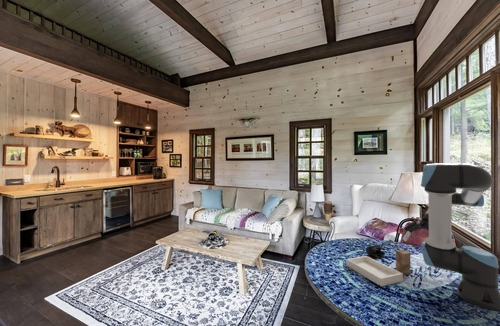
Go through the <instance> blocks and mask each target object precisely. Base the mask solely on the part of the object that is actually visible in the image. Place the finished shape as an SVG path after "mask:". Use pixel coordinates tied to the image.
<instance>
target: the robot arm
mask: <svg viewBox="0 0 500 326" xmlns="http://www.w3.org/2000/svg"><path fill="white" fill-rule="evenodd" d="M422 170H423V171H422V176H421V182H420V186H421V187H422V188H424V192H426V193H427V194H428V209H427V210H426V212H425V214H424V215H423V217H422V218H421V220H418V219H415V220H414V221H413V222H412V223H410V224H408V225H407V226H405V227H404V228H403V229H404V230H405V232H404V234H403V235H404V236H403V238H402V240H403V241H404V242H407V241H408V239H409V238H410V236H411V234H412V233H413V232H415V231H418V230H426V231H428V237H426V238H425V239H424V241H422V242H421V251H422V252H421V253H422V258H423V261H424V264H426V265H427V266H429V267H433V268H434V269H440V270H444V271H448V272H452V273H457V274H461V279H460V281H459V284H458V285H457V288H456V294H457V296H458V297H460V298H461V299H462V300H464V301H466V302H467V303H469V304H471V305H474V306H477V307H479V308H482V309H486V310H490V311H491V310H492V311H500V289H499V268H500V266H499V261H498V257H497V256H496V255H495V254H493V253H491V252H490V251H488V250H485V249H481V248H478V247H475V246H470V245H462V246H461V248H459V247H457V245H456V243H454V241H452V219H453V217H452V216H453V215H452V212H453V211H452V210H453V209H452V206H453V205H455V206H457V205H459V206H467V207H474V208H477V207H478V208H479V207H480V208H481V207H484V203H485V196H484V193H485V192H487V190H490V188H491V187H492V186H493V183H494V179H493V177H492V175H491V173H489V172H488V171H487V170H486V169H484V168H483V167H480V166H478V165H477V164H476V165H474V164H471V163H427V164H425V165H424V166H423V169H422ZM457 189H460V190H461V189H462V190H461V191H457Z"/></svg>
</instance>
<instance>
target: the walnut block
mask: <svg viewBox="0 0 500 326" xmlns="http://www.w3.org/2000/svg"><path fill="white" fill-rule="evenodd" d="M411 264H412V263H411V252H409V251H406V250H404V249H397V250H395V270H396V271H398V272H401V273H403V276H404V275H410V274H411V269H412V268H411V266H412V265H411Z"/></svg>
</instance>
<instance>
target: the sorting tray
mask: <svg viewBox="0 0 500 326" xmlns="http://www.w3.org/2000/svg"><path fill="white" fill-rule="evenodd" d="M345 265H346V267H349V268H350V269H351V270H353V271H355V272H356V273H357V274H359V275H362V276H363V277H365V279H368V280H370V281H372V282H373V283H374V284H377V285H378V286H379V285H380V287H384V286H389V285H392V284H396V283H400V282H403V281H404V274H403V273H401V272H398V271H396V269H394V268H392V267H390V266H388V265H386V264H384V263H382V262H380V261H378V260H377V259H374V258H372V257H370V256H369V255H368V256H367V255H364V256H358V257H351V258H347V259H346V264H345Z"/></svg>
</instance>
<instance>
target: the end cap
mask: <svg viewBox="0 0 500 326" xmlns="http://www.w3.org/2000/svg"><path fill="white" fill-rule="evenodd" d="M365 251H366V254H367V255H368V257H370V258H372V257H373V258H372V259H374V258H375V259H374V260H377V259H381V258H385V255H386V253H385V251H386V248H385V247H382V246H381V245H380V244H376V245H371V246H369V245H368V246H367V247H366V248H365Z"/></svg>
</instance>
